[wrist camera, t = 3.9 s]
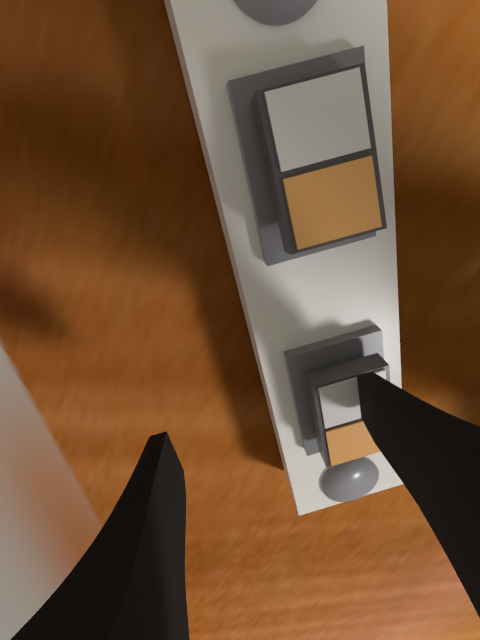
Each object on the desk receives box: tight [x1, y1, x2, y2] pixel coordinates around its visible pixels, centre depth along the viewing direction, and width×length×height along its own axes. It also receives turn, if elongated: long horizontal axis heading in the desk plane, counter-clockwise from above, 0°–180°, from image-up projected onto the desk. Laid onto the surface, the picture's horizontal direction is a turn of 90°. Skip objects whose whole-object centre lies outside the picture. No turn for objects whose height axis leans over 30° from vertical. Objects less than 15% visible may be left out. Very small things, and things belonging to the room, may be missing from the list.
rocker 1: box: [251, 63, 387, 255], centre depth 11 cm, size 4×3×1 cm
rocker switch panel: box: [164, 0, 403, 516], centre depth 15 cm, size 24×6×4 cm, turn 13°
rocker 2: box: [305, 353, 390, 467], centre depth 15 cm, size 4×3×1 cm
